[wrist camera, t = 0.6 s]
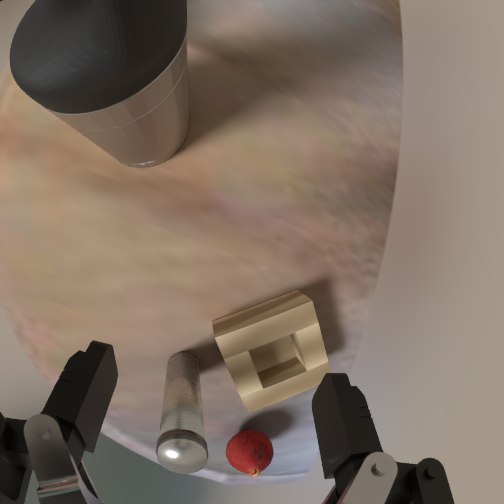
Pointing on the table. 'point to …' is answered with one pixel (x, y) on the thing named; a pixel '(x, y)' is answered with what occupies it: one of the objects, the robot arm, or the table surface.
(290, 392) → the square ring gauge
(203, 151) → the table surface
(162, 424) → the cylinder
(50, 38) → the robot arm
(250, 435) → the onion
